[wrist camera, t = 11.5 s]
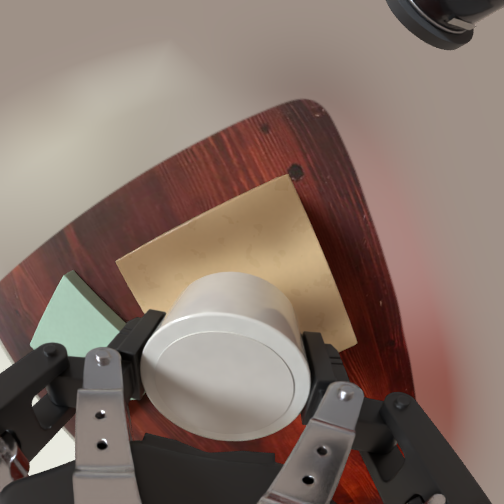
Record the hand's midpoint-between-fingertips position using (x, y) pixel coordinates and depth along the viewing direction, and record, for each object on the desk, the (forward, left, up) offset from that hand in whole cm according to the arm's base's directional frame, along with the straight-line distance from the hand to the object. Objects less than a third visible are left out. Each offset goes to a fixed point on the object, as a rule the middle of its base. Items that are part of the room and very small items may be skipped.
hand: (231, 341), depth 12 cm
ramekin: (0, 0, -1) cm, 1 cm away
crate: (0, 0, -14) cm, 14 cm away
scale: (+14, -17, -14) cm, 26 cm away
